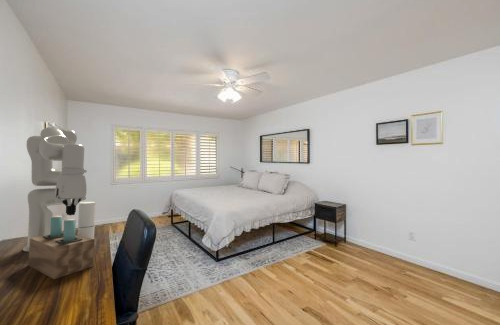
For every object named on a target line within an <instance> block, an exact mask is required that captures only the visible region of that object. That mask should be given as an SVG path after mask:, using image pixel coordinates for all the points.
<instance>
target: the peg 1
mask: <svg viewBox="0 0 500 325" xmlns="http://www.w3.org/2000/svg"><path fill="white" fill-rule="evenodd" d="M62 232H63V215H53V216H52V217H51V228H50V237H51V238H52V237H57V236H62Z"/></svg>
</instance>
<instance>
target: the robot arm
mask: <svg viewBox="0 0 500 325" xmlns="http://www.w3.org/2000/svg"><path fill="white" fill-rule="evenodd" d="M39 134H40V135H32V136H31V135H30V136H29V137H28V138H27V140H26V149H27V153H28V155H29V158H30V160H31V161H30V162H31V182H32V183H31V184H32V185H33V186H35V187H49V188H36V189H33V190H31V191H29V192H28V194H27V203H28V204H27V205H28V225H27V227H28V228H27V245H26V246H24V247H23V248H22V251H24V252H26V253H29V246H30V238H34V237H39V236H44V235H50V228H51V217H52V216H54V214H53V212H52V210H51V209H50V208H48V207H51V206H63V205H64V206H65V207H66V208H65V213H66V216H74V215H76V211H77V206H78V204H79V203H80V202H83V201H85V200H86V199H87V197H86V196H87V180H86V176H85V175H84V174H87V173H88V172H87V169H85V168H84V167H85V166H84V164H85V163H84V162H85V146H84V145H82V144H80V143H77V139H78V136H77V133H76V132H75V130H72V129H69V128H61V127H52V126H51V127H45V128H43V129H42V130H41V131H40V133H39ZM53 161H54V162H55V161H57V162H58V161H60V162H61V168H54V167H53ZM50 187H54V188H50Z"/></svg>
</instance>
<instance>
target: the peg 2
mask: <svg viewBox="0 0 500 325" xmlns="http://www.w3.org/2000/svg"><path fill="white" fill-rule="evenodd" d="M76 224H77V219H76V218H68V219H64V220H63V232H64V234H63V242H69V241H73V240H75V233H76V226H77V225H76Z"/></svg>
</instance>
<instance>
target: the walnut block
mask: <svg viewBox="0 0 500 325" xmlns="http://www.w3.org/2000/svg"><path fill="white" fill-rule="evenodd" d="M63 234H64V231H62V236H57V237H52V238H51V237H50V235H44V236H39V237H34V238H30V246H29V252H28V263H27V264H28V267H30V268H32V269H34V270H36V271H37V272H39V273H42V274H43V275H44V276H46V277H49V278H51V279H52V280H57V279H59V278H63V277H66V276H68V275H71V274H74V273H78V272H80V271H83V270H86V269H90V268H92V267H94V252H95V251H94V250H95V238H94V239H93V238H89V237H86V236H82V235H79V234H78V233H76V232H75V240H73V241H69V242H63Z"/></svg>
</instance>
